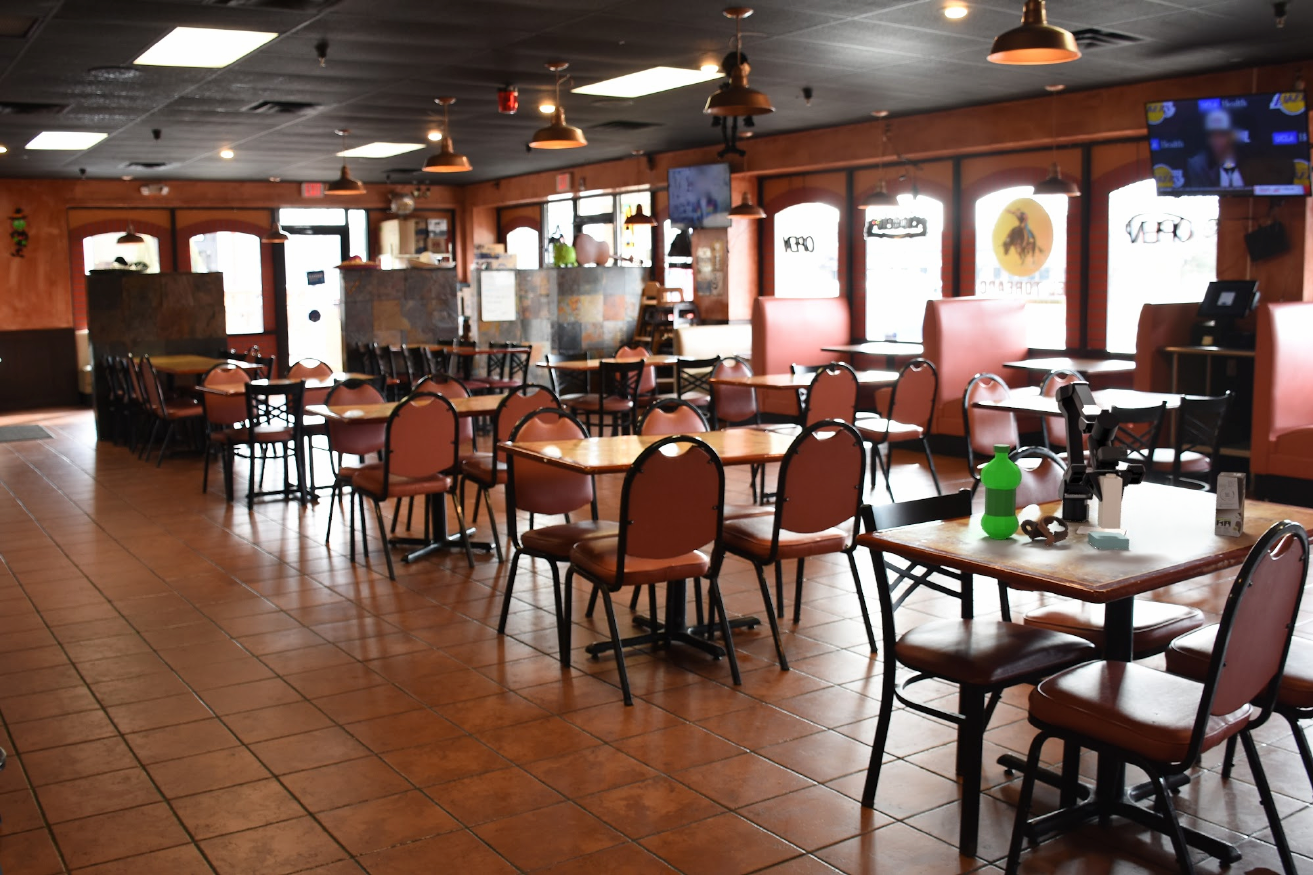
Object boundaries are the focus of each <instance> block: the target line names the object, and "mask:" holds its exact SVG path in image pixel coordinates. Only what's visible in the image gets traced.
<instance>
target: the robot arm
mask: <svg viewBox="0 0 1313 875" xmlns="http://www.w3.org/2000/svg"><path fill="white" fill-rule="evenodd" d="M1090 388H1091V386H1090V382H1088V381H1072V382H1068V384H1064V385H1061V386H1059V387H1058V388H1057V389H1056V390H1055V394H1054V395H1055V396H1054V397H1055V402H1057V409H1058V411H1060V413H1061V414H1062V417H1064V429H1065V440H1066V441H1065V442H1066V444H1065V445H1066V458H1067V460H1066V461H1067V466H1066V468H1065V469H1064V472H1063V473H1062V479H1061V480H1060V484H1059V486H1058V489H1057V495H1058V496H1057V497H1058V498H1059V499H1060V500H1061V501H1062V504H1061V505H1062V509H1061V517H1060V518H1061V519H1063V520H1064V521H1065V522H1072V523H1075V522H1076V523H1084V522H1086V521H1088V520H1089V519H1090V504H1089V502H1088V501H1093V499H1094V496H1095V498H1096V499H1097V500H1099V501H1100V502H1102V500H1103V498H1102V492H1101V489H1100V486H1099V476H1106V474H1116V476H1118V477H1120V478H1122V499H1121V503H1122V502H1123V496H1124V493H1125V488H1127V487H1128V486H1129V485H1134V486H1135V485H1137V486H1138V485H1141V484H1142V482H1143V479H1144V477H1145V475H1146V474H1147V473H1146V468H1145V466H1144V465H1143V464H1140V463H1139V464H1136V463H1135V464H1134V463H1133V464H1131V463H1130V464H1127V466H1126V469H1119V468H1118V469H1117V467H1119V465H1120V462H1119V461H1120V460H1121V459H1126V458H1127V457H1128V455H1129V452H1128V447H1127V444H1119V445H1117V446H1114V445H1113V446H1112V443H1111V441H1112V440H1114V438H1115V436H1116V433H1117V431H1118V428H1119V426H1120V418H1119V417H1118V415H1116V414H1115V413H1113V412H1110V409H1107V408H1106V409H1104V408H1100V407H1099V406H1098V405H1097V402H1096V400H1095V398H1094V396H1093V394H1092V392H1091V389H1090ZM1084 435H1088V436H1087V439H1086V441H1087V445H1086V446H1087V449H1088V451H1089V456H1090V461H1089V463H1090V466H1092V467H1088V466H1087V464H1085V453H1084V452H1085V450H1084V438H1083V437H1084Z"/></svg>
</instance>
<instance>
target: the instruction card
mask: <svg viewBox="0 0 1313 875" xmlns="http://www.w3.org/2000/svg"><path fill="white" fill-rule="evenodd" d="M1088 532H1097V533H1121V534H1122V535H1124V536H1126V535H1125V534H1126V532H1127V529H1121V528H1120V529H1102V528H1101V527H1094V526H1082V525H1081V526H1080V525H1079V527H1078V530H1077V531H1076V534H1077V535H1078V534H1079V535H1088Z"/></svg>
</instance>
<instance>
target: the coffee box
mask: <svg viewBox="0 0 1313 875" xmlns="http://www.w3.org/2000/svg"><path fill="white" fill-rule="evenodd" d="M1246 481H1247V473H1244V472H1227V471H1226V472H1225V471H1221V472H1220V473H1219V474H1218V475H1217V481H1216V483H1217V484H1216V496H1215V497H1216V500H1215V501H1216V502H1215V518H1214V519H1215V520H1214V535H1217V536H1227V537H1234V538H1235V537H1236V538H1237V537H1238V538H1239V537H1241V535H1242V533H1243V531H1244V522H1245V503H1246V502H1245V501H1246V497H1245V496H1246V483H1247V482H1246Z"/></svg>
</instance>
